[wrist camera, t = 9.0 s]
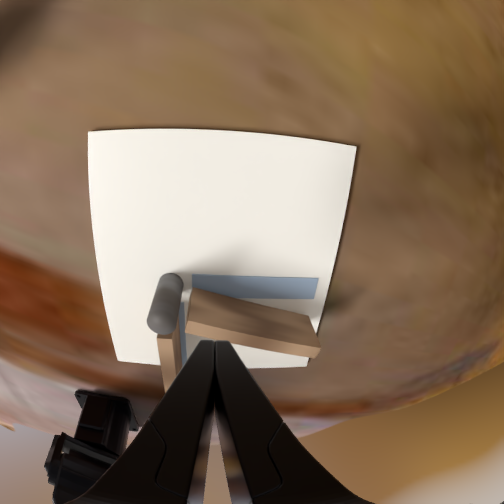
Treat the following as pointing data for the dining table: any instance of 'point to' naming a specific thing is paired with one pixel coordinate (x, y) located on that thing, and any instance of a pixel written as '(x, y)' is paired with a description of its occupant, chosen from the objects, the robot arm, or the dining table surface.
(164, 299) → the fixed panel
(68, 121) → the dining table surface
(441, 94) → the dining table surface
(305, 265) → the card
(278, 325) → the fold panel
